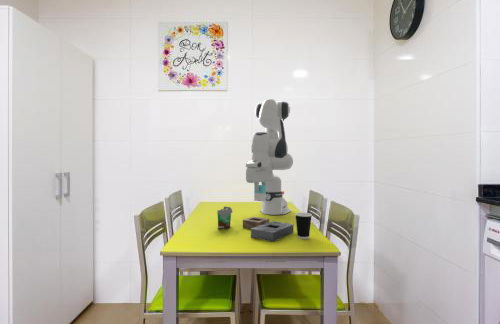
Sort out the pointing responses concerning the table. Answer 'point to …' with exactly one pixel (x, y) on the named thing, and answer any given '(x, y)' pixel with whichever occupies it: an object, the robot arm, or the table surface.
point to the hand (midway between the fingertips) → (260, 190)
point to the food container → (224, 218)
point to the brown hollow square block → (254, 222)
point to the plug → (260, 193)
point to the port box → (272, 231)
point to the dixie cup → (303, 224)
